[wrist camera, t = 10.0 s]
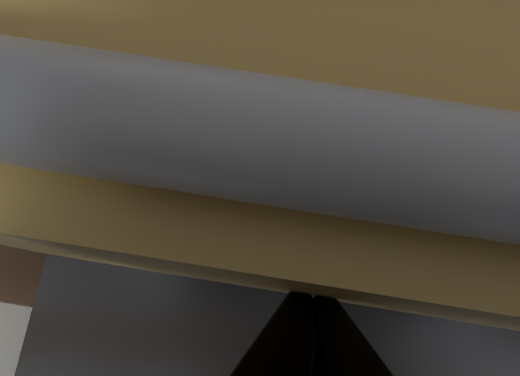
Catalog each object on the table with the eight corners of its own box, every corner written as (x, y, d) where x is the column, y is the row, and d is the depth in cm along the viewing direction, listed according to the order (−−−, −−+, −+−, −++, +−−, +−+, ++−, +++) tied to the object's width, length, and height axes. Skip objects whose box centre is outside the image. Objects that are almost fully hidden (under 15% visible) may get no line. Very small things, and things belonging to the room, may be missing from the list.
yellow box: (511, 373, 12) (1487, 439, 3) (66, 299, 12) (-522, 118, 3) (500, 60, 15) (895, -401, 6) (153, 9, 16) (14, -501, 6)
